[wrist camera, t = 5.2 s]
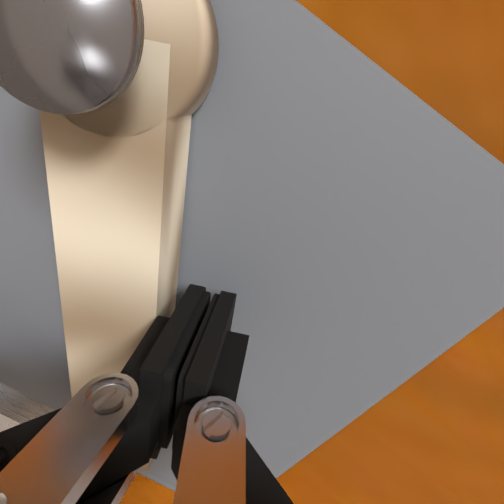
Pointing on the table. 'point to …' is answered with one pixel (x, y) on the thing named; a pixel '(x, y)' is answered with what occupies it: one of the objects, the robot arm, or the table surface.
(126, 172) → the link
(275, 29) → the slate board
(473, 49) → the table surface
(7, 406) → the keeper
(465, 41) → the table surface
